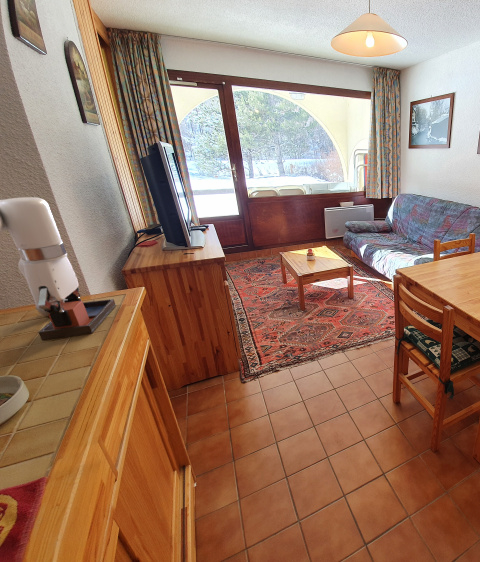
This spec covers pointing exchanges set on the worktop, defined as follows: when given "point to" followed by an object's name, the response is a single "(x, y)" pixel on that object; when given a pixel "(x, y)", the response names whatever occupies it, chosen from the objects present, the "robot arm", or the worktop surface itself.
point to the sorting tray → (96, 315)
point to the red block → (74, 314)
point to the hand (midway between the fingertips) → (70, 318)
